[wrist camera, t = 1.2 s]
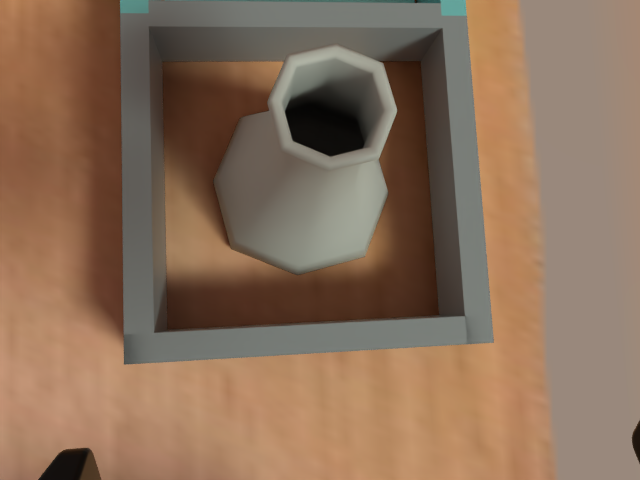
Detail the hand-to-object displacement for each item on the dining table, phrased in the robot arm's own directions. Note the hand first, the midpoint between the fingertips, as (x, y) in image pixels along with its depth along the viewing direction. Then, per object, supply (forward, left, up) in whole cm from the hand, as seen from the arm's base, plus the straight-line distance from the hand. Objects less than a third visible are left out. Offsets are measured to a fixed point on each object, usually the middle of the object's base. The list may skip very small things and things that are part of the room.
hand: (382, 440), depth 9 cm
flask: (+6, +4, -14) cm, 16 cm away
